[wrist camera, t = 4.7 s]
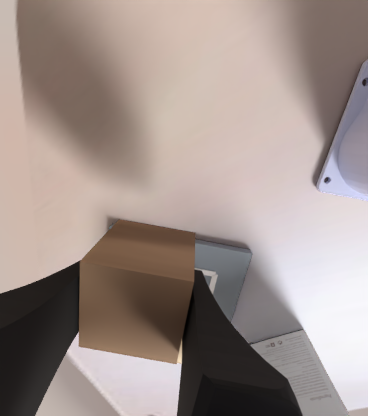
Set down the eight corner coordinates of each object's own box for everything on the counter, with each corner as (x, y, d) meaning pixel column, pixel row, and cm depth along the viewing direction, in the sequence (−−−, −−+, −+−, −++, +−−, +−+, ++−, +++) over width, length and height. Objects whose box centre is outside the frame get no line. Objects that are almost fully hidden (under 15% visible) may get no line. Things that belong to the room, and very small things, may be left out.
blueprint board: (112, 223, 21) (108, 227, 20) (250, 249, 20) (252, 254, 20) (104, 329, 25) (100, 336, 24) (218, 351, 25) (219, 359, 24)
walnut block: (119, 219, 13) (79, 261, 9) (195, 232, 13) (194, 281, 9) (114, 283, 14) (78, 346, 10) (183, 295, 14) (176, 363, 10)
